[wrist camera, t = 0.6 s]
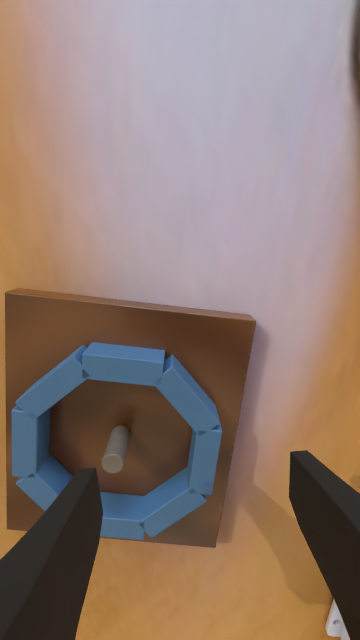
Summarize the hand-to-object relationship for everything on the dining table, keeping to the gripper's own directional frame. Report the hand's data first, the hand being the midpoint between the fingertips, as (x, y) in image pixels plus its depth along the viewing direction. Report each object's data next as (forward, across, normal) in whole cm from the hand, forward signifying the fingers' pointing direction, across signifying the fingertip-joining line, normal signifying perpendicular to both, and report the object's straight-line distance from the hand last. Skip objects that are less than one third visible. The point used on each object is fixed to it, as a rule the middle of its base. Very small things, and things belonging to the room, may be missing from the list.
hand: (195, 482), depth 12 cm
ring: (+8, +4, +3) cm, 9 cm away
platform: (+9, +4, +3) cm, 10 cm away
